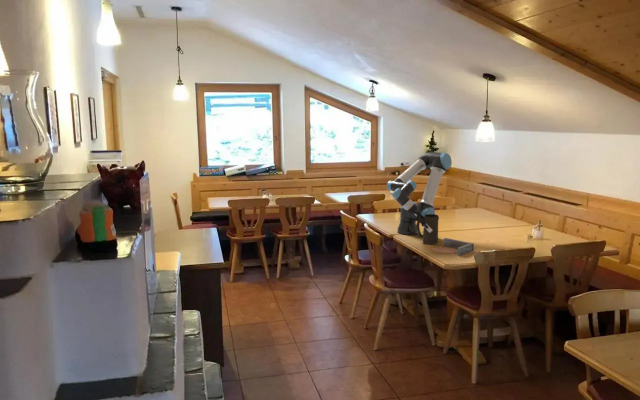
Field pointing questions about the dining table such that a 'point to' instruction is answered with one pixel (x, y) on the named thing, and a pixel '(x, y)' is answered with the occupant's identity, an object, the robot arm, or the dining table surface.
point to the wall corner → (459, 246)
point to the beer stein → (433, 224)
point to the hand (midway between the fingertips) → (431, 229)
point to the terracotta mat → (445, 250)
